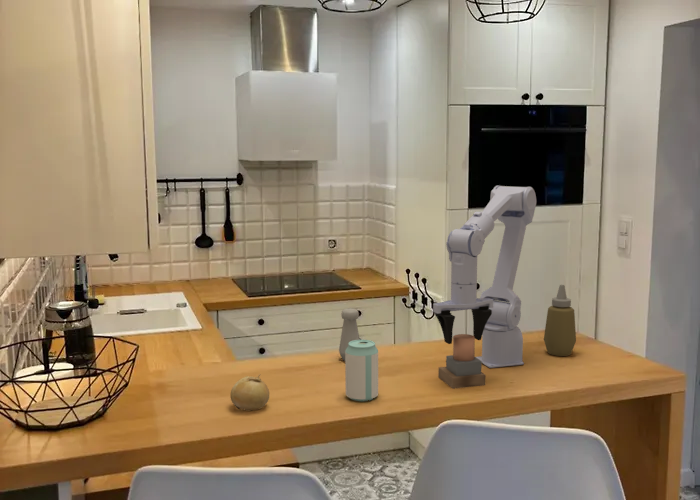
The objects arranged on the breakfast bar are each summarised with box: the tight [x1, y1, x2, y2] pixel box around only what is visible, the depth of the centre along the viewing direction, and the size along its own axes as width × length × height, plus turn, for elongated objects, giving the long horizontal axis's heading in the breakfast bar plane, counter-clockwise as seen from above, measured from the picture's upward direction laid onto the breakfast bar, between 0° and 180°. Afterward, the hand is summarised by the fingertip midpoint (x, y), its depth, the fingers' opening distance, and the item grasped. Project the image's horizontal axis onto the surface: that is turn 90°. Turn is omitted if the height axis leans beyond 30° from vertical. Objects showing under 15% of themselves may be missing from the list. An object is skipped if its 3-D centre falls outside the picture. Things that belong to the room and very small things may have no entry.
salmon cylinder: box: [452, 333, 476, 361], centre depth 163 cm, size 5×5×5 cm
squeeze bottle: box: [543, 284, 577, 357], centre depth 183 cm, size 8×8×18 cm
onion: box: [230, 373, 270, 412], centre depth 148 cm, size 8×8×7 cm
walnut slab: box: [437, 366, 487, 390], centre depth 164 cm, size 8×8×3 cm
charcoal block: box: [445, 354, 483, 376], centre depth 163 cm, size 6×6×3 cm
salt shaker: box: [338, 307, 361, 362], centre depth 179 cm, size 6×6×13 cm
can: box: [344, 339, 379, 402], centre depth 153 cm, size 7×7×12 cm
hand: (462, 340), depth 163 cm, fingers open, 7 cm apart
